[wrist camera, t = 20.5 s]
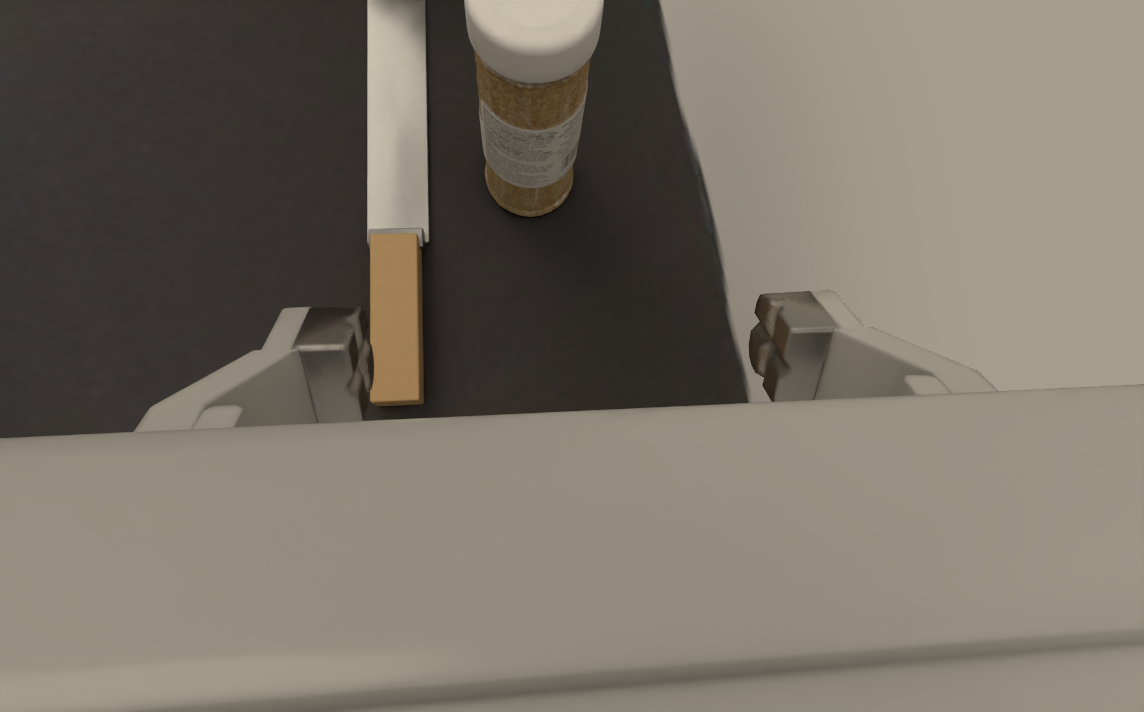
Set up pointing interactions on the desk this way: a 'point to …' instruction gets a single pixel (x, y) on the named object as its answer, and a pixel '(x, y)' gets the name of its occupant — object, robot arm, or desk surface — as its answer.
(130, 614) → the robot arm
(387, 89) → the knife
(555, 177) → the sprinkles bottle
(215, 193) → the desk surface
